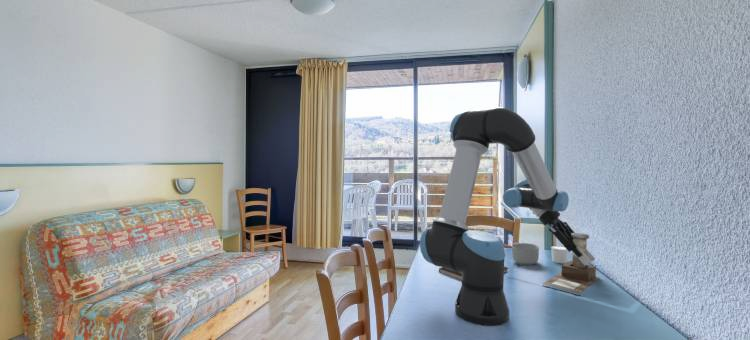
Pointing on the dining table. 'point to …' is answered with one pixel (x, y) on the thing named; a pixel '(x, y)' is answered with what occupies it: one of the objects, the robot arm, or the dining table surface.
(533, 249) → the teacup
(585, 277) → the socket board
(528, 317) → the dining table surface
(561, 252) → the short white cylinder
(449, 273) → the hardcover book
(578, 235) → the capped plug
